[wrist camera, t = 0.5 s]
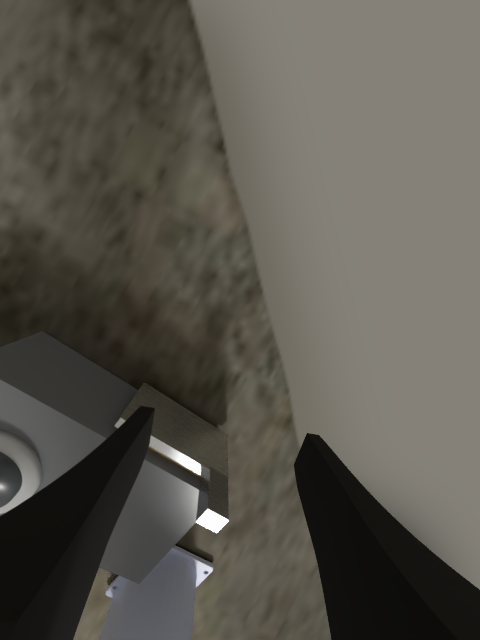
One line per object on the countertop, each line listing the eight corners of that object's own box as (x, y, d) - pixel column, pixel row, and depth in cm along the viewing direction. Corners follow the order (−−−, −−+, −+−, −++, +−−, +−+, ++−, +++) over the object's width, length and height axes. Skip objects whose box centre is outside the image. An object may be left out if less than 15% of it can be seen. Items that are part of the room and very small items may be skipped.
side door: (220, 442, 22) (219, 534, 15) (137, 390, 20) (87, 465, 13) (228, 433, 22) (231, 521, 15) (145, 380, 20) (99, 450, 13)
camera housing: (159, 507, 24) (134, 601, 18) (-15, 417, 21) (-130, 492, 14) (220, 437, 23) (218, 510, 16) (44, 328, 19) (-52, 363, 13)
